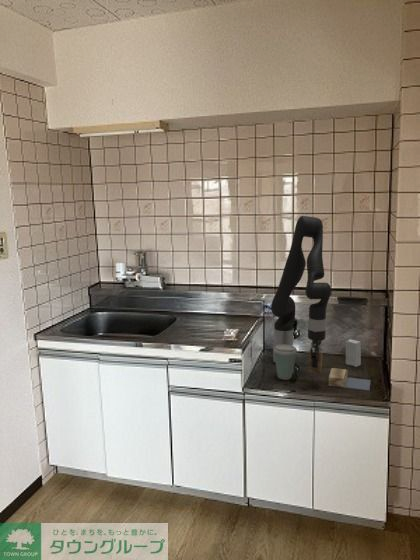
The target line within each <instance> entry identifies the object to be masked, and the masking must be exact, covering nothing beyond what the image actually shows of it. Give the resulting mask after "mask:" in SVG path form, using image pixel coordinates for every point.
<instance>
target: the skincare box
mask: <svg viewBox="0 0 420 560" xmlns="http://www.w3.org/2000/svg"><path fill="white" fill-rule="evenodd" d="M361 350H362V342H361V341H360V340H355V339H351V338H350V339H347V340H345V364H346V365H347V366H351V367H355V368H357V367H360V366H361V365H362V363H361V360H362V358H361V357H362V355H361V354H362V353H361V352H362V351H361Z"/></svg>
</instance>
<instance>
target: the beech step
mask: <svg viewBox="0 0 420 560" xmlns="http://www.w3.org/2000/svg"><path fill="white" fill-rule="evenodd" d="M348 370H349V369H348V368H347V369H344V368H337V367H332V368H331V369H330V373H329V376H328V387H329V386H330V387H337V388H345V385H346V381H347V377H348V372H349V371H348Z"/></svg>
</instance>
